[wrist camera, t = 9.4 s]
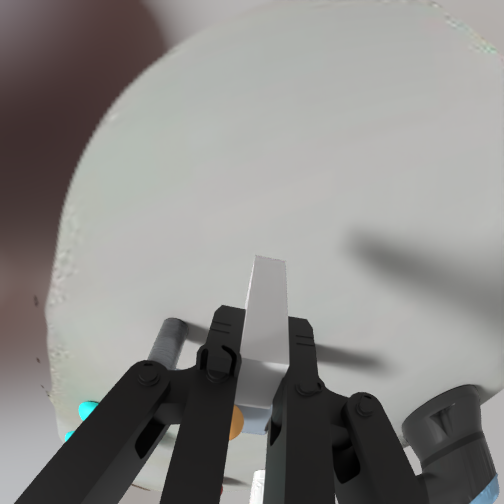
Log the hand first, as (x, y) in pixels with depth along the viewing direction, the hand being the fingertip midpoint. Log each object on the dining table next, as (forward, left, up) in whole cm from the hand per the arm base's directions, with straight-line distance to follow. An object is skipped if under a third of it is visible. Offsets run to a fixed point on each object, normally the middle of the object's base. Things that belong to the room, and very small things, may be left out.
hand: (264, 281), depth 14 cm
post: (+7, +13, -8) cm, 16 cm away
